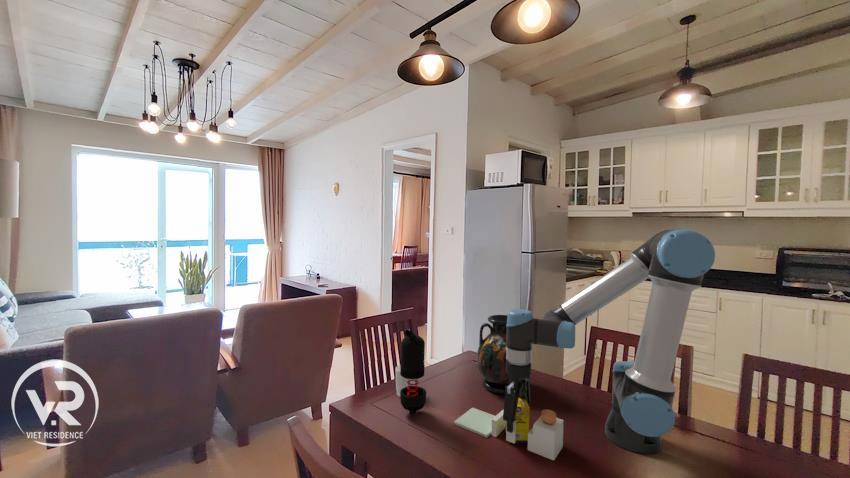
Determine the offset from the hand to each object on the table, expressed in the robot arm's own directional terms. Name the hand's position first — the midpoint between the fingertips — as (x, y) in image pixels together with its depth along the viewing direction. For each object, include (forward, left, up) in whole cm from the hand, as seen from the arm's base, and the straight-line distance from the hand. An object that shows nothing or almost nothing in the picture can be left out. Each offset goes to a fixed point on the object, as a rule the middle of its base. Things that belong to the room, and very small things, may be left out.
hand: (516, 434), depth 109 cm
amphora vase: (+19, -30, -1) cm, 36 cm away
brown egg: (-9, 0, +3) cm, 10 cm away
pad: (+13, 0, -1) cm, 13 cm away
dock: (-3, 0, -1) cm, 3 cm away
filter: (+34, +8, -1) cm, 35 cm away
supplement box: (0, 0, -1) cm, 1 cm away
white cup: (+45, 0, -1) cm, 45 cm away
